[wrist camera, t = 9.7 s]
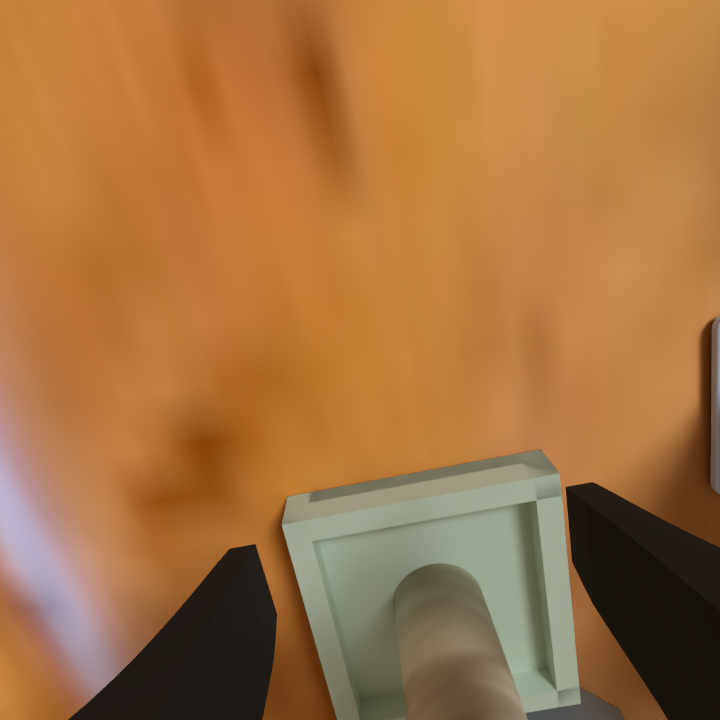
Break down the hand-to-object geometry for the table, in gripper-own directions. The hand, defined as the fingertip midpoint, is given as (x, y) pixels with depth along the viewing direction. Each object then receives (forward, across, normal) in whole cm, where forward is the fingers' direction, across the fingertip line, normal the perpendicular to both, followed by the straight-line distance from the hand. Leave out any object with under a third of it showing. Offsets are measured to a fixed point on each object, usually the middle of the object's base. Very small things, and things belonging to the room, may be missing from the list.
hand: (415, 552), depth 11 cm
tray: (+9, 0, +10) cm, 13 cm away
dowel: (+9, 0, +10) cm, 13 cm away
